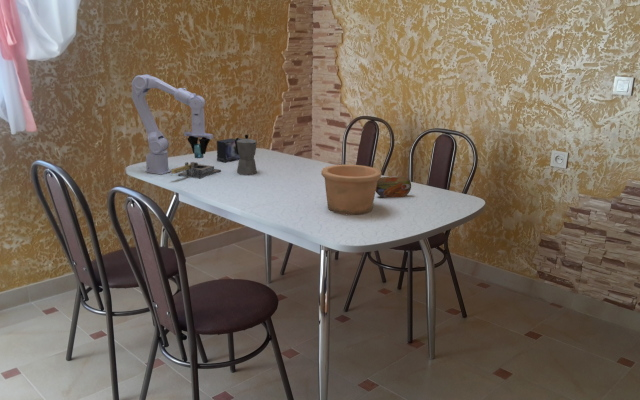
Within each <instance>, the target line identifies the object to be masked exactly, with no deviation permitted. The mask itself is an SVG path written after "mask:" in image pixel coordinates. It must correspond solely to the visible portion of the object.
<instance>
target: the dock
mask: <svg viewBox="0 0 640 400" xmlns="http://www.w3.org/2000/svg"><path fill="white" fill-rule="evenodd" d="M190 163H191V162H190ZM185 165H189V162H187V161H186V162H184V166H185ZM220 172H222V170H221V169H217V168H215V166H214V165H207V164H200V163H198V168H196V169H195V168H194V163H191V169H188V170H185V171H182V172H178V173H177V174H178V176H180V177H186V178H193V179H194V178H195V179H203V178H206V177H209V176H212V175H214V174H218V173H220Z"/></svg>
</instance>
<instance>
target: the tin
mask: <svg viewBox="0 0 640 400" xmlns="http://www.w3.org/2000/svg"><path fill="white" fill-rule="evenodd" d="M411 190H412V183H411V180H410V179H409V178H408V177H406V176H403V175H398V176H397V175H396V176H392V175H391V176H381V178H380V179H378V181H377V186H376V191H375V194H377V195H378V196H379V197H381V198H384V199H387V198H388V199H389V198H390V199H391V198H403V197H406V196H407V195H408V194H409V193H410V191H411Z"/></svg>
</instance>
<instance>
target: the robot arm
mask: <svg viewBox="0 0 640 400" xmlns="http://www.w3.org/2000/svg"><path fill="white" fill-rule="evenodd" d="M151 89H158V90H160V91H162V92H165V93H167V94H169V95H172V96H174V97H173V98H174V99H175V100H176V101H178V102H180V103H182V104H185V105H187V106H189V108H190V112H191V113H190V115H191V131H184V132H183V135H184V137H187V141H188V142H189V145H190V147H191V150H192V153H193V154H194V144H198V142H199V143H200V146H201V154H203V155H205V154H206V151H207V147H208V145H209V142H210V140H213V139H214V134H212V133H206V126H205V125H206V124H205V123H206V122H205V117H206V116H205V106H206V99H205V98H204V97H203V96H202V95H199V94H198V95H197V93H195V92H190V91H188V90H187V88H185V87H179V88H176V87H174V86H172V85H170V84H168V83H167V82H165V81H163V80H162V79H160V78H158V77H156V76H152V75H151V74H139V75H136V76H134V78H133V79H132V81H131V100H132V102H133V104H134V106H135V110H137V113H138V115H139V117H140V120H141V122H142V124H143V128H144V129H145V131H146V133H147V142H148V149H149V152H147V153H146V156H145V166H146V170H145V173H150V174H157V175H164V174H167V173H170V172H171V170H172V169H169V157H168V156H169V154H168V152H169V151H168V148H169V146H170V142H169V140H168V139H167V138H166V137H165V136H164V134H163V132H161V131H160V129H159V127H158V124H157V122H156V120H155V117H154V116H153V113H152V110H151V109H150V106H149V104H148V102H147V99H146V96H147V94H148V92H149V91H150V90H151Z"/></svg>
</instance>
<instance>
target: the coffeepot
mask: <svg viewBox="0 0 640 400" xmlns="http://www.w3.org/2000/svg"><path fill="white" fill-rule="evenodd" d="M244 137H245V138H241V137H236V138H235V139H236V140H235V145H236V150H237V154H238V155H239V156H240V159H239V160H238V164H237V170H236V173H237V175H241V176H254V175H256V174H257V173H258V171H257V164H256V160H255V156H256V151H257V144H258V141H257V140H255V139H252V138H249V134H244Z"/></svg>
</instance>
